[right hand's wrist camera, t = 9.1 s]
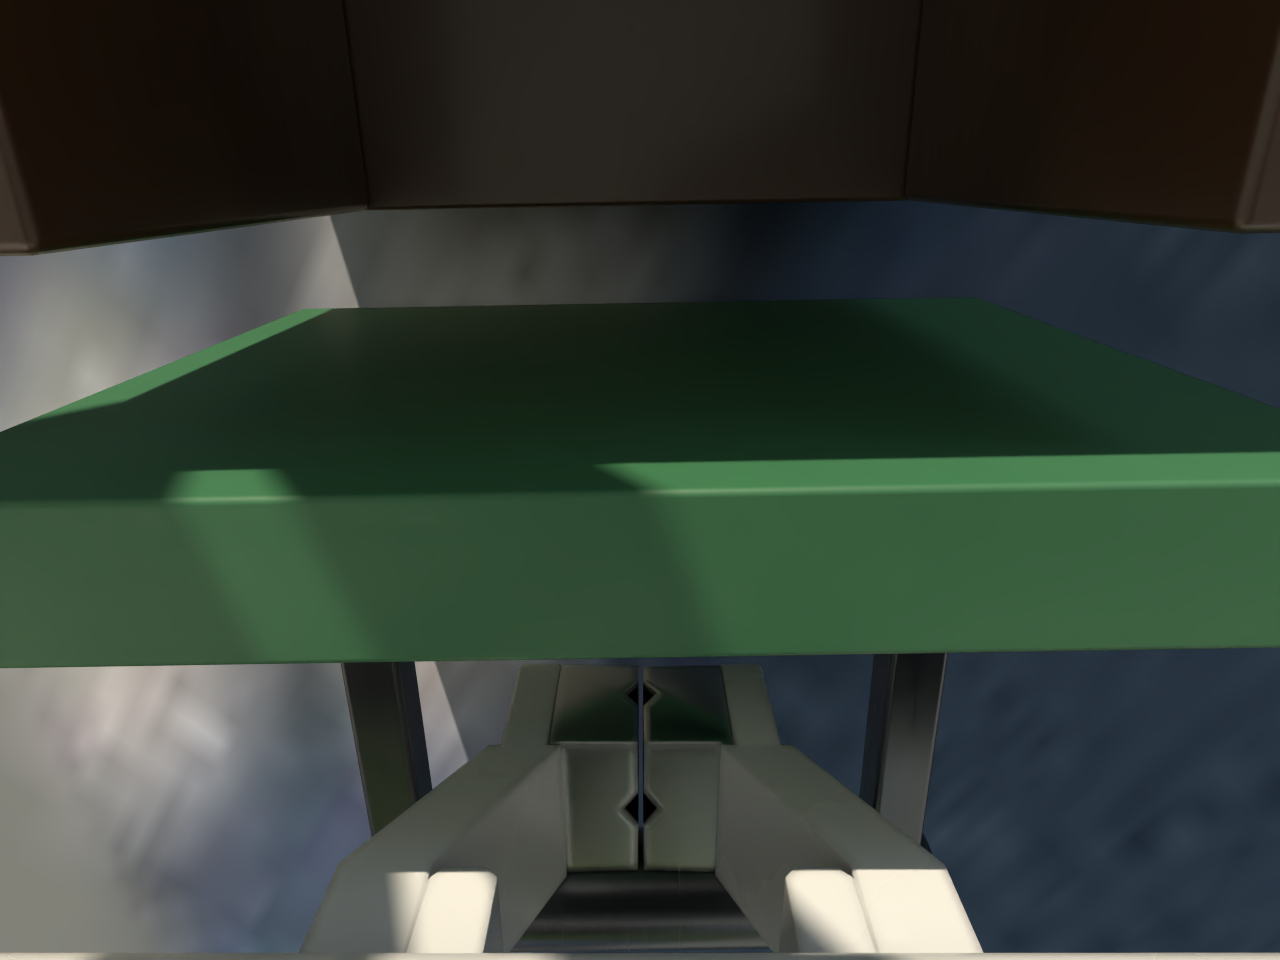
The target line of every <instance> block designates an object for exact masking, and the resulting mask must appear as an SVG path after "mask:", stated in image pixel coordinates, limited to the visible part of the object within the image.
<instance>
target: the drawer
mask: <svg viewBox="0 0 1280 960" xmlns="http://www.w3.org/2000/svg"><path fill="white" fill-rule="evenodd" d="M901 200H911V201H919V202H929V203H939V204H949V205H959V206H969V207H979V208H989V209H999V210H1009V211H1019V212H1029V213H1039V214H1049V215H1059V216H1069V217H1079V218H1089V219H1099V220H1109V221H1119V222H1129V223H1140V224H1150V225H1160V226H1170V227H1180V228H1190V229H1200V230H1210V231H1220V232H1230V233H1240V234H1242V233H1280V0H0V256H28V255H40V254H47V253H55V252H62V251H69V250H77V249H84V248H91V247H99V246H106V245H114V244H121V243H128V242H136V241H143V240H151V239H158V238H165V237H173V236H180V235H187V234H195V233H202V232H210V231H217V230H224V229H232V228H239V227H247V226H254V225H261V224H269V223H276V222H284V221H291V220H298V219H306V218H313V217H320V216H328V215H335V214H343V213H350V212H357V211H363V210H413V209H467V208H521V207H576V206H630V205H684V204H738V203H793V202H847V201H901ZM1271 647H1280V409H1278V408H1276V407H1273V406H1270V405H1267V404H1265V403H1262V402H1259V401H1256V400H1254V399H1251V398H1248V397H1246V396H1243V395H1240V394H1237V393H1235V392H1232V391H1229V390H1227V389H1224V388H1221V387H1218V386H1216V385H1213V384H1210V383H1207V382H1205V381H1202V380H1199V379H1197V378H1194V377H1191V376H1188V375H1186V374H1183V373H1180V372H1177V371H1175V370H1172V369H1169V368H1167V367H1164V366H1161V365H1158V364H1156V363H1153V362H1150V361H1147V360H1145V359H1142V358H1139V357H1137V356H1134V355H1131V354H1128V353H1126V352H1123V351H1120V350H1117V349H1115V348H1112V347H1109V346H1107V345H1104V344H1101V343H1098V342H1096V341H1093V340H1090V339H1087V338H1085V337H1082V336H1079V335H1077V334H1074V333H1071V332H1068V331H1066V330H1063V329H1060V328H1058V327H1055V326H1052V325H1049V324H1047V323H1044V322H1041V321H1038V320H1036V319H1033V318H1030V317H1028V316H1025V315H1022V314H1019V313H1017V312H1014V311H1011V310H1008V309H1006V308H1003V307H1000V306H998V305H995V304H992V303H989V302H987V301H984V300H981V299H978V298H976V297H952V298H896V299H840V300H785V301H729V302H673V303H618V304H562V305H506V306H450V307H395V308H339V309H303V310H300V311H298V312H295V313H293V314H290V315H288V316H285V317H283V318H280V319H278V320H276V321H273V322H271V323H268V324H266V325H263V326H261V327H258V328H256V329H253V330H251V331H248V332H246V333H243V334H241V335H239V336H236V337H234V338H231V339H229V340H226V341H224V342H221V343H219V344H216V345H214V346H211V347H209V348H206V349H204V350H202V351H199V352H197V353H194V354H192V355H189V356H187V357H184V358H182V359H179V360H177V361H174V362H172V363H169V364H167V365H165V366H162V367H160V368H157V369H155V370H152V371H150V372H147V373H145V374H142V375H140V376H137V377H135V378H133V379H130V380H128V381H125V382H123V383H120V384H118V385H115V386H113V387H110V388H108V389H105V390H103V391H100V392H98V393H96V394H93V395H91V396H88V397H86V398H83V399H81V400H78V401H76V402H73V403H71V404H68V405H66V406H63V407H61V408H59V409H56V410H54V411H51V412H49V413H46V414H44V415H41V416H39V417H36V418H34V419H31V420H29V421H27V422H24V423H22V424H19V425H17V426H14V427H12V428H9V429H7V430H4V431H2V432H0V668H39V667H101V666H163V665H224V664H286V663H341V668H342V673H343V679H344V684H345V690H346V696H347V701H348V707H349V712H350V718H351V724H352V729H353V735H354V740H355V746H356V751H357V757H358V763H359V768H360V774H361V779H362V785H363V791H364V796H365V802H366V807H367V813H368V818H369V824H370V830H371V835H372V837H373V836H374V835H375V834H376V833H378V832H379V831H380V830H382V829H383V828H384V827H385V826H387V825H388V824H389V823H391V822H392V821H393V820H394V819H396V818H397V817H398V816H399V815H401V814H402V813H403V812H405V811H406V810H407V809H408V808H410V807H411V806H412V805H413V804H415V803H416V802H417V801H419V800H420V799H421V798H422V797H424V796H425V795H426V794H427V793H429V792H430V791H431V790H432V784H431V777H430V769H429V762H428V755H427V748H426V741H425V734H424V727H423V719H422V712H421V705H420V698H419V691H418V684H417V677H416V669H415V662H414V661H471V660H532V659H594V658H655V657H717V656H779V655H840V654H874V661H873V670H872V680H871V690H870V699H869V709H868V719H867V728H866V738H865V748H864V758H863V767H862V777H861V787H860V796H859V798H861V799H862V800H863V801H865V802H866V803H867V804H868V805H870V806H871V807H872V808H873V809H875V810H876V811H877V812H879V813H880V814H881V815H882V816H884V817H885V818H886V819H887V820H889V821H890V822H891V823H892V824H894V825H895V826H896V827H898V828H899V829H900V830H901V831H903V832H904V833H905V834H906V835H908V836H909V837H910V838H912V839H913V840H914V841H915V842H917V843H918V844H919V845H920V846H922V847H923V848H924V849H926V850H927V851H928V852H929V853H931V854H932V852H931V850H930V847H929V845H928V842H927V840H926V838H925V836H924V834H923V826H924V819H925V812H926V805H927V798H928V790H929V783H930V776H931V769H932V762H933V755H934V748H935V741H936V734H937V727H938V720H939V713H940V706H941V699H942V692H943V685H944V678H945V671H946V664H947V657H948V653H963V652H1025V651H1087V650H1148V649H1210V648H1271ZM721 949H770V948H769V947H768V945H767V944H766V943H765V941H764V940H763V939H762V937H761V936H760V935H759V933H758V932H757V931H756V929H755V928H754V927H753V925H752V924H751V923H750V921H749V920H748V919H747V917H746V916H745V915H744V913H743V912H742V911H741V909H740V908H739V907H738V905H737V904H736V903H735V901H734V900H733V898H732V897H731V896H730V894H729V893H728V892H727V890H726V889H725V888H724V886H723V885H722V884H721V882H720V881H719V880H718V878H717V877H716V876H715V872H701V871H665V870H644V835H643V827H638V870H615V871H581V872H566V878H565V879H564V880H563V882H562V883H561V884H560V886H559V887H558V888H557V890H556V891H555V892H554V894H553V895H552V896H551V898H550V899H549V900H548V902H547V903H546V904H545V906H544V907H543V908H542V910H541V911H540V912H539V914H538V915H537V916H536V918H535V919H534V920H533V922H532V923H531V924H530V926H529V927H528V928H527V930H526V931H525V932H524V934H523V935H522V936H521V938H520V939H519V940H518V942H517V943H516V944H515V946H514V947H513V948H512V950H511V951H510V952H509V953H519V952H586V951H654V950H721Z"/></svg>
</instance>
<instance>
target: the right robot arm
mask: <svg viewBox="0 0 1280 960" xmlns="http://www.w3.org/2000/svg"><path fill="white" fill-rule="evenodd" d="M638 727H639V692H638V666H633V665H584V664H563V665H562V666H561V665H560V664H523V665H522V667H521V668H520V669H519V672H518V676H517V680H516V684H515V688H514V692H513V696H512V700H511V705H510V709H509V713H508V717H507V721H506V725H505V729H504V733H503V737H502V741H501V745H489V746H487V747H486V748H485V749H483V750H482V751H481V752H480V753H478V754H477V755H476V756H475V757H473V758H472V759H471V760H469V761H468V762H467V763H466V764H464V765H463V766H462V767H461V768H459V769H458V770H457V771H455V772H454V773H453V774H452V775H450V776H449V777H448V778H447V779H445V780H444V781H443V782H441V783H440V784H439V785H438V786H436V787H435V788H434V789H433V790H431V791H430V792H429V793H427V794H426V795H425V796H424V797H422V798H421V799H420V800H419V801H417V802H416V803H415V804H413V805H412V806H411V807H410V808H408V809H407V810H406V811H405V812H403V813H402V814H401V815H399V816H398V817H397V818H396V819H394V820H393V821H392V822H391V823H389V824H388V825H387V826H385V827H384V828H383V829H382V830H380V831H379V832H378V833H376V834H375V835H374V836H373V837H371V838H370V839H369V840H368V841H366V842H365V843H364V844H362V845H361V846H360V847H359V848H357V849H356V850H355V851H354V852H352V853H351V854H350V855H348V856H347V857H346V858H345V859H343V860H342V861H341V862H340V863H339V864H338V866H337V868H336V870H335V873H334V875H333V877H332V879H331V882H330V884H329V886H328V889H327V891H326V893H325V895H324V898H323V900H322V902H321V904H320V907H319V909H318V911H317V913H316V916H315V918H314V920H313V922H312V925H311V927H310V929H309V931H308V934H307V936H306V938H305V940H304V943H303V945H302V947H301V949H300V952H299V953H0V960H1280V953H983V951H982V948H981V946H980V944H979V941H978V939H977V937H976V935H975V932H974V930H973V928H972V926H971V923H970V921H969V919H968V917H967V914H966V912H965V910H964V907H963V905H962V903H961V901H960V898H959V896H958V894H957V892H956V889H955V887H954V885H953V882H952V880H951V878H950V876H949V873H948V871H947V869H946V867H945V864H943V863H942V862H941V861H940V860H938V859H937V858H936V857H934V856H933V855H932V854H931V853H929V852H928V851H927V850H926V849H924V848H923V847H922V846H920V845H919V844H918V843H917V842H915V841H914V840H913V839H912V838H910V837H909V836H908V835H906V834H905V833H904V832H903V831H901V830H900V829H899V828H898V827H896V826H895V825H894V824H892V823H891V822H890V821H889V820H887V819H886V818H885V817H884V816H882V815H881V814H880V813H879V812H877V811H876V810H875V809H873V808H872V807H871V806H870V805H868V804H867V803H866V802H865V801H863V800H862V799H861V798H859V797H858V796H857V795H856V794H854V793H853V792H852V791H851V790H849V789H848V788H847V787H845V786H844V785H843V784H842V783H840V782H839V781H838V780H837V779H835V778H834V777H833V776H831V775H830V774H829V773H828V772H826V771H825V770H824V769H823V768H821V767H820V766H819V765H817V764H816V763H815V762H814V761H812V760H811V759H810V758H809V757H807V756H806V755H805V754H804V753H802V752H801V751H800V750H798V749H797V748H796V747H795V746H793V745H781V742H780V738H779V734H778V730H777V726H776V722H775V718H774V714H773V710H772V706H771V702H770V698H769V694H768V690H767V686H766V682H765V679H764V675H763V671H762V667H761V666H760V665H759V664H758V663H752V664H724V665H707V666H655V667H643V835H644V870H665V871H701V872H715V876H716V877H717V878H718V880H719V881H720V882H721V884H722V885H723V886H724V888H725V889H726V890H727V892H728V893H729V894H730V896H731V897H732V898H733V900H734V901H735V903H736V904H737V905H738V907H739V908H740V909H741V911H742V912H743V913H744V915H745V916H746V917H747V919H748V920H749V921H750V923H751V924H752V925H753V927H754V928H755V929H756V931H757V932H758V933H759V935H760V936H761V937H762V939H763V940H764V941H765V943H766V944H767V945H768V947H769V948H770V949H771V951H772V952H773V953H509V952H510V951H511V950H512V948H513V947H514V946H515V944H516V943H517V942H518V940H519V939H520V938H521V936H522V935H523V934H524V932H525V931H526V930H527V928H528V927H529V926H530V924H531V923H532V922H533V920H534V919H535V918H536V916H537V915H538V914H539V912H540V911H541V910H542V908H543V907H544V906H545V904H546V903H547V902H548V900H549V899H550V898H551V896H552V895H553V894H554V892H555V891H556V890H557V888H558V887H559V886H560V884H561V883H562V882H563V880H564V879H565V878H566V872H581V871H615V870H638V793H639V783H638V779H639V733H638Z"/></svg>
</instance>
